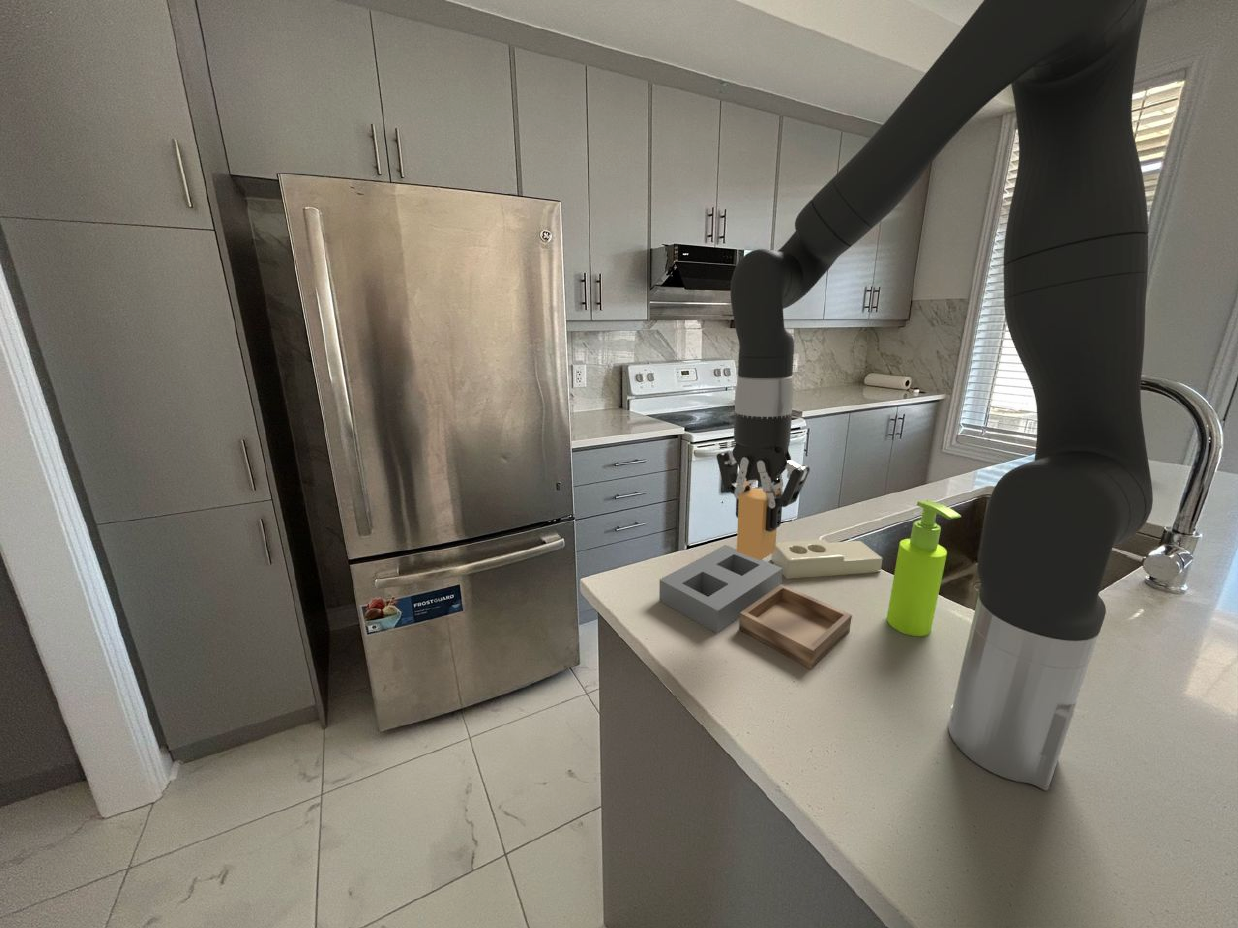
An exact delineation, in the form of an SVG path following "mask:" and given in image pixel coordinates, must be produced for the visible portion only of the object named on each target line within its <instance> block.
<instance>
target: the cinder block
mask: <svg viewBox="0 0 1238 928" xmlns="http://www.w3.org/2000/svg"><path fill="white" fill-rule="evenodd" d="M782 571H783V568H781V567H779V566H776V565H775V564H774V563H772V562H769V561H766V560H763V559H762V560H758V559H755V558H753V557H750V556H747V555H745V554H742V553H739V552H737V548H734V547H733V546H732V547H731V546H729V545H726V544H724V545H722V546H720V547H719V548H717V549H715V550H713V551H711V552H709V553H708V554H707V553H706V554H705V555H704V556H701V557H700V558H697V559H696V560H694V561H692V562H690V563H688V564H687V565H684V566H682V567H681V568H678V569H677V570H676V571H673V572H671V573H669V574H668V575H666V576H663V577H662V578H660V579H659V590H658V591H659V595H658V596H659V602H661V603H663V604H664V605H667V606H668V607H670V608H672V609H674V611H675V610H676V611H677V612H679V613H681V614H683V615H684V616H686V617H687V618H689V619H691V620H693V621H694V622H696V623H698V624H700V625H702V626H703V627H704V628H706V629H708V630H710V631H712V632H714V634H719V633H720V632H721V631H723V630H724V629H725V628H727V627H729V626H730V625H731V624H733V623H734V622H735V621H737V620H738V619H740V612H742V611H743V610H745V609H746V608H748V607H749V606H750V605H752V604H753V603H755V602H756V601H758V600H759V599H760V598H762V597H763V596H765V595H766V594H768V593H769V592H771V591H772V590H773V589H775V588H776V587H778V586H779V585H781V584H782V581H783V574H782ZM707 595H708V596H707Z"/></svg>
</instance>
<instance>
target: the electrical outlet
mask: <svg viewBox="0 0 1238 928" xmlns="http://www.w3.org/2000/svg"><path fill="white" fill-rule="evenodd" d="M770 557H771V558H770V560H771V563H772V564H774V565H776V566H779V567H781V568H783V571H782V576H784V578H785V579H788V580H790V579H798V578H814V577H828V576H829V577H830V576H838V575H839V576H841V575H855V574H868V573H881V571H882V565H883V557H882V556H881V555H879V554H878V553H877V552H876V551H874V550H872V548H870V547H869V546H868V545H866V544H865V543H864V542H863V541H861V540H852V541H851V540H850V541H837V542H834V541H833V542H828V541H827V540H826V539H813V540H799V541H798V540H797V541H785V542H784V541H783V542H776V545H775V552H773V553H771V556H770ZM878 570H881V571H878Z"/></svg>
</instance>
